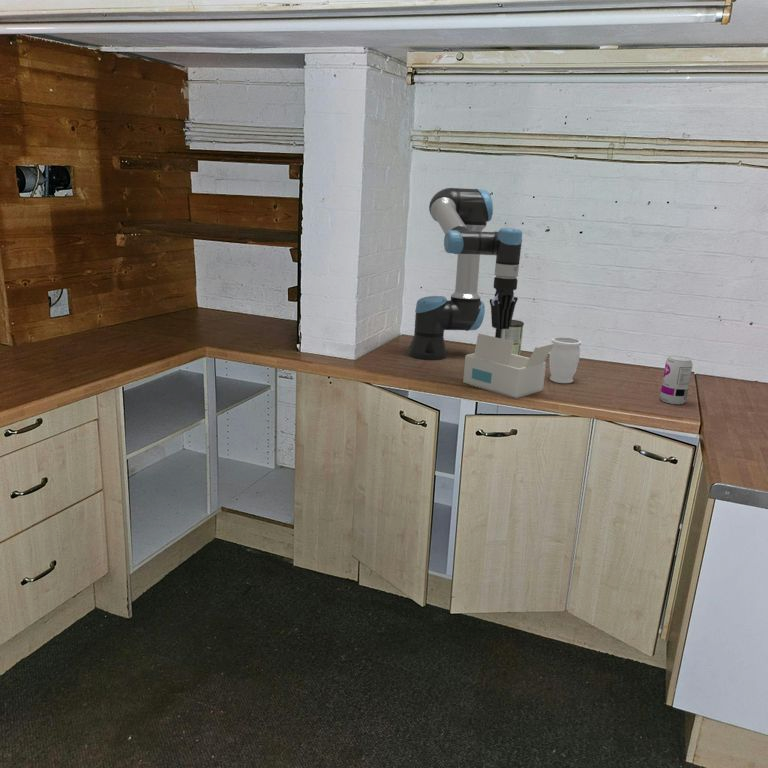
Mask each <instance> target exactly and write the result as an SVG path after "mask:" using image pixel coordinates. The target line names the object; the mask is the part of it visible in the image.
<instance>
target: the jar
mask: <svg viewBox="0 0 768 768" xmlns="http://www.w3.org/2000/svg"><path fill="white" fill-rule="evenodd" d="M550 341H551V343H553V344H554V345H553V347H552V348H551V350H550V352H549V354H548V356H549V357H548V358H549V372H550V376H549V380H550V381H551V382H554V383H557V384H571V383H573V382H574V379H573V377H574V376H575V373H576V371H577V369H578V365H579V362H580V355H581V353H580V352H581V351H580V346H581V345H582V341H581V340H579V339H577V338H572V337H564V336H562V337H557V336H556V337H553V338H551V340H550Z"/></svg>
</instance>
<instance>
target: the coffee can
mask: <svg viewBox="0 0 768 768" xmlns="http://www.w3.org/2000/svg"><path fill="white" fill-rule="evenodd" d="M524 325H525V322H524V321H521V320H517V319H512V321H511V325H510V326H508V327H509V329H506V333H505V340H510V341H514V344H513V349H512V354H516V355H520V356H521V351H522V350H521V349H522V343H523V342H522V339H523V333H524Z"/></svg>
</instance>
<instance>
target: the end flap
mask: <svg viewBox="0 0 768 768" xmlns="http://www.w3.org/2000/svg"><path fill="white" fill-rule="evenodd" d="M553 345H554V344H553V343H552V342H550V343H546V344H542V345H537V346H535V348H534V350H533V351H532V353H531V355H530V356H529V358H530V359H529V361H528V362H527V364H526V366H525V367H526V368H528V367H532V366H536V365H540V364H543V363H544V362H546V359H547V358H548V356H549V355H550V350H551V348H552V347H553Z"/></svg>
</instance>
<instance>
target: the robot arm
mask: <svg viewBox="0 0 768 768" xmlns="http://www.w3.org/2000/svg"><path fill="white" fill-rule="evenodd" d="M428 208H429V214H430V216H431V217H432V220H434V221H435V222H437V223H438V224H439V226H440V228H441V230H442V232H443V233H444V238H443V246H444V251H445V252H446V253H448V254H454V255H457V261H456V273H455V275H456V276H455V286H454V288H455V289H454V290H455V291H454V292H453V293H452V294H451V295H450V300H447V297H446V296H443V295H430V296H424V297H421V298H419V299H418V300H417V301H416V304H415V305H416V306H415V310H414V311H415V314H414V315H415V317H414V331H413V332H414V335H413V337H412V340H411V343H410V346H409V348H408V356H410V357H413V358H415V359H419V360H428V361H429V360H433V361H435V360H437V361H438V360H444V359H446V358H447V355H448V352H447V348H446V343H445V336H444V335H445V331H466V332H468V331H477V330H478V329H479V328H480V327H481V326H482V324H483V321H484V318H485V314H486V313H485V311H486V310H485V304H484V301H482V300H481V296H480V295H479V294H478V293H479V292H478V284H479V272H480V258H481V255H483V256H496V257H495V266H494V267H495V268H494V275H495V277H493V278H494V279H493V288H494V289H495V293H494V297H493V298H491V299H489V304H490V313H491V327H492V328H493V329H495V335H494V337H497V338H501V339H505V333H506V329H509V327H508V326H510V325H511V321H512V320H513V316H514V312H515V307H516V304H517V302H518V299H519V298H518V297H517V296H514V295H515V293H514V291H516V290H517V289H518V276H519V270H520V269H519V267H520V260H521V250H522V243H523V231H522V229H520V228H514V227H513V228H512V227H501V228H500V229H499V230H498V231H483V230H484V229H485V228H486V227H487V222H490V221H491V220H492V218H493V215H494V214H493V213H494V204H493V198H492V196H491V194H490V192H489V191H488V190H486V189H479V188H462V187H461V188H460V187H459V188H458V187H457V188H456V187H448V188H447V187H446V188H443V189H441V190H439V191H437V193H435V194H434V195H433V196H432V198H431V200H430V201H429V205H428Z"/></svg>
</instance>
